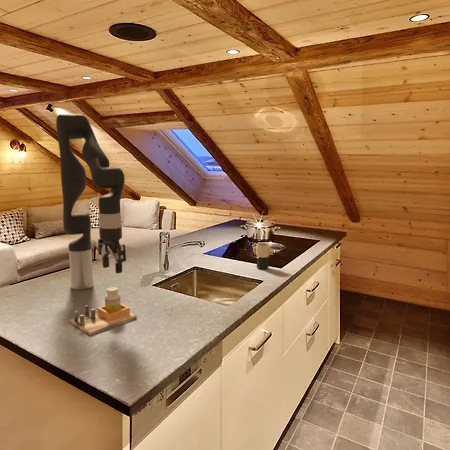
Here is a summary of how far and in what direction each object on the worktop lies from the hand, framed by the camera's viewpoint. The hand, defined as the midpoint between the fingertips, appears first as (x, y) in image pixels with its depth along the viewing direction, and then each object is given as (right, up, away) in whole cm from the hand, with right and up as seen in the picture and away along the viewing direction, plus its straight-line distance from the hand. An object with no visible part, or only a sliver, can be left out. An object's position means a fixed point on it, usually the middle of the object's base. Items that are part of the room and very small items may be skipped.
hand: (112, 270), depth 130 cm
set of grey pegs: (-9, -17, -2) cm, 20 cm away
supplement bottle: (-1, -17, +3) cm, 17 cm away
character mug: (+60, -7, +64) cm, 88 cm away
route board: (-3, -18, 0) cm, 18 cm away
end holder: (0, -17, +3) cm, 18 cm away
